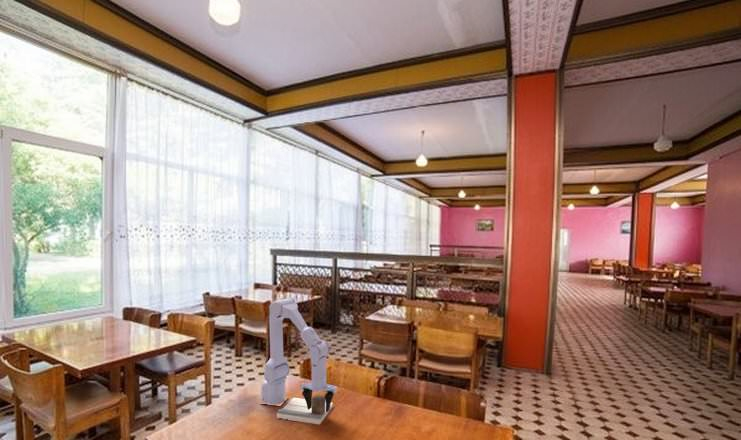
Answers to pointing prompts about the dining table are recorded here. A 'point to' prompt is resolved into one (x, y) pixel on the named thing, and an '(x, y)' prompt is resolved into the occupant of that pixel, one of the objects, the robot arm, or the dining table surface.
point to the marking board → (301, 412)
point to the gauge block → (318, 404)
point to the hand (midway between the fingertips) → (318, 409)
